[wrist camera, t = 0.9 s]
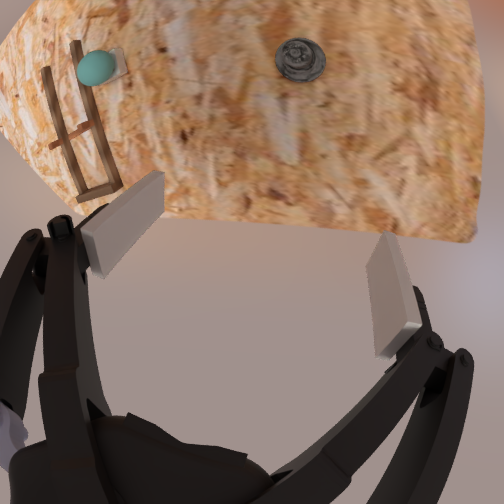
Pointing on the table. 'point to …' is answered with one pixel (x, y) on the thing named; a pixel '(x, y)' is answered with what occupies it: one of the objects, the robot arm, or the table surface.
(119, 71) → the white square frame
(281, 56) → the dark grey chess piece
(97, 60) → the ball
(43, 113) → the table surface
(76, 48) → the lane
